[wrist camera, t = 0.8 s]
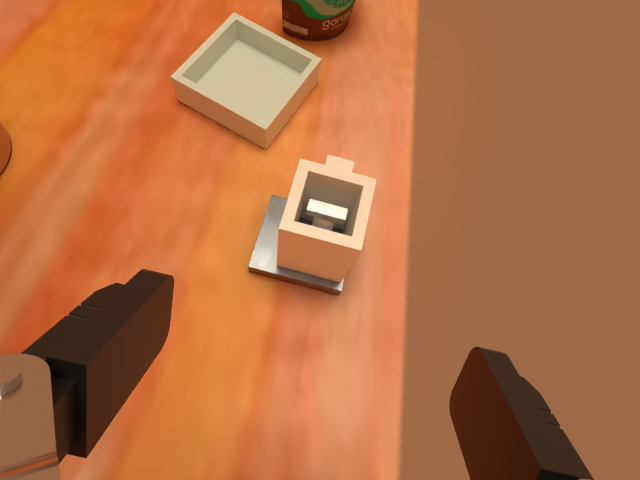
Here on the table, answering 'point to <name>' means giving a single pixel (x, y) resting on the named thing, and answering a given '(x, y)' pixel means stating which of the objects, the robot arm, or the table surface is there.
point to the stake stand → (268, 243)
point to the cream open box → (316, 243)
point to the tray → (247, 79)
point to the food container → (316, 18)
